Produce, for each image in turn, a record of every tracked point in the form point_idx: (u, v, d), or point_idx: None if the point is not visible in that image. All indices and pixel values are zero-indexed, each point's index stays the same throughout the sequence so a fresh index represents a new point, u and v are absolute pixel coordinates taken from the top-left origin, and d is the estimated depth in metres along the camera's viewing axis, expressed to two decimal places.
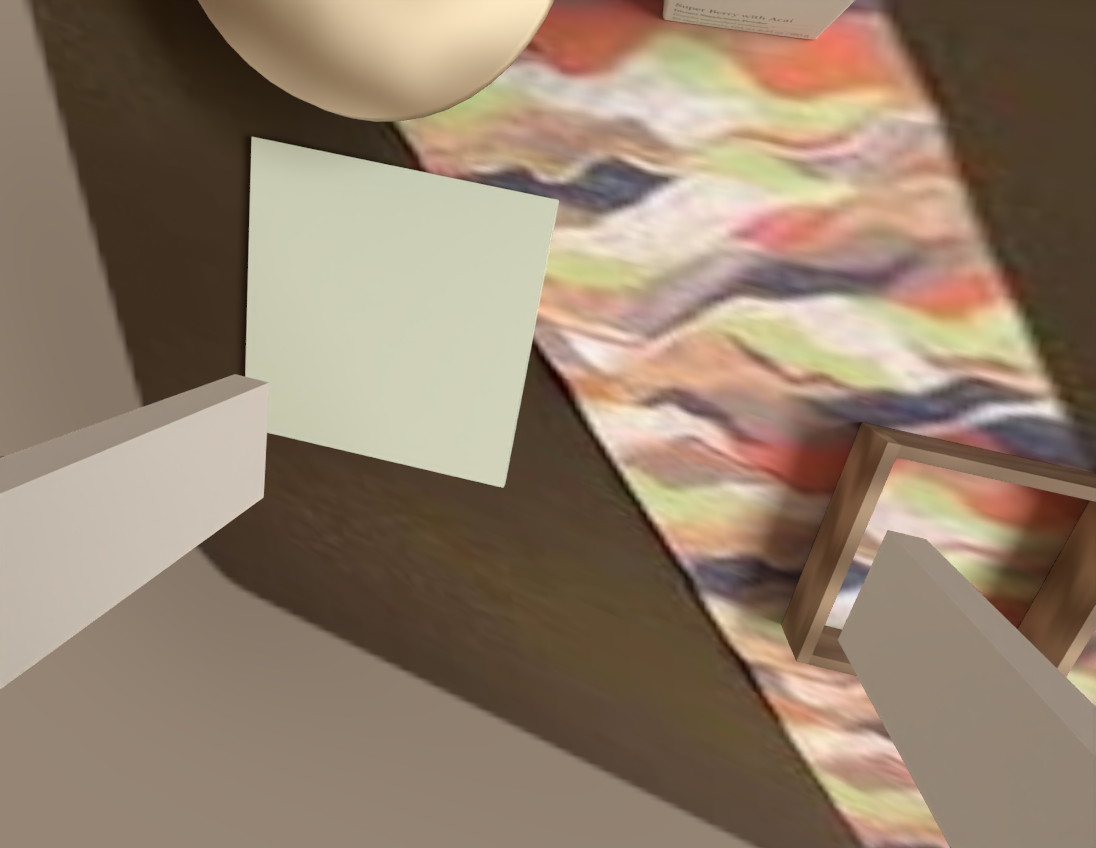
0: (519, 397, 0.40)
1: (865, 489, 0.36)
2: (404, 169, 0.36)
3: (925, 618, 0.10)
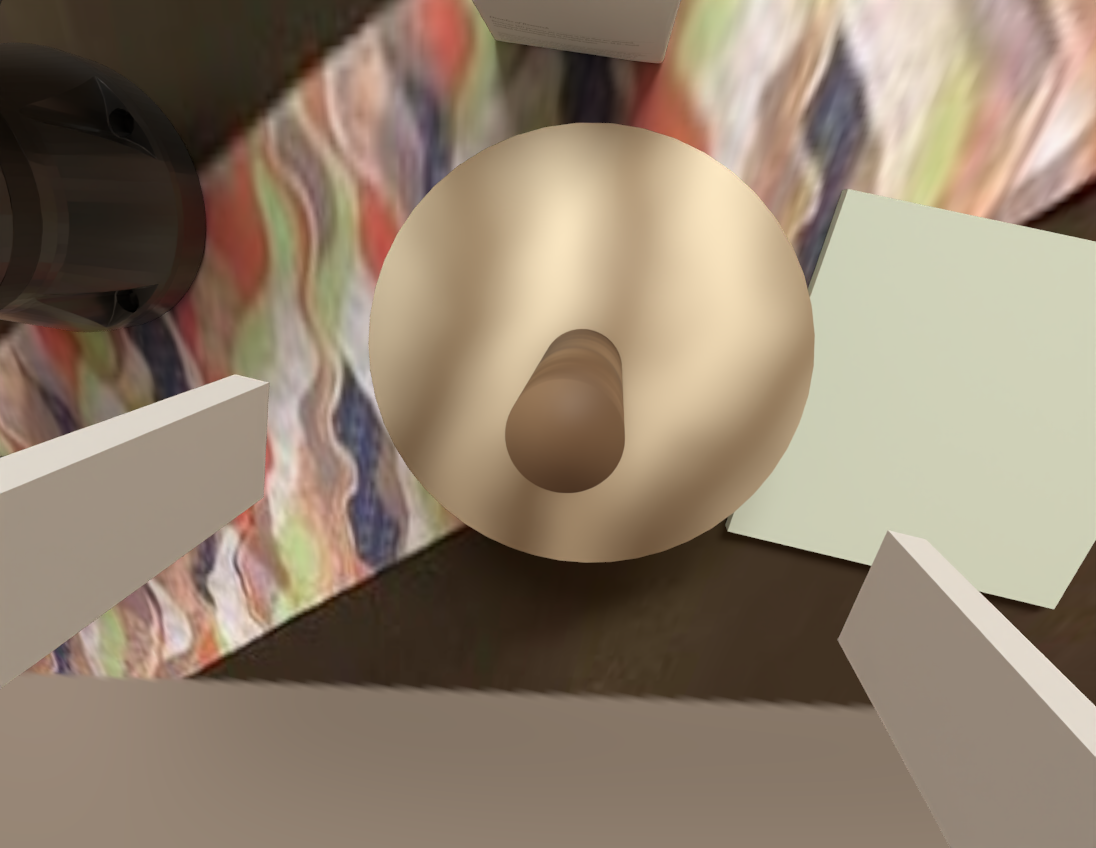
0: None
1: None
2: None
3: (925, 618, 0.10)
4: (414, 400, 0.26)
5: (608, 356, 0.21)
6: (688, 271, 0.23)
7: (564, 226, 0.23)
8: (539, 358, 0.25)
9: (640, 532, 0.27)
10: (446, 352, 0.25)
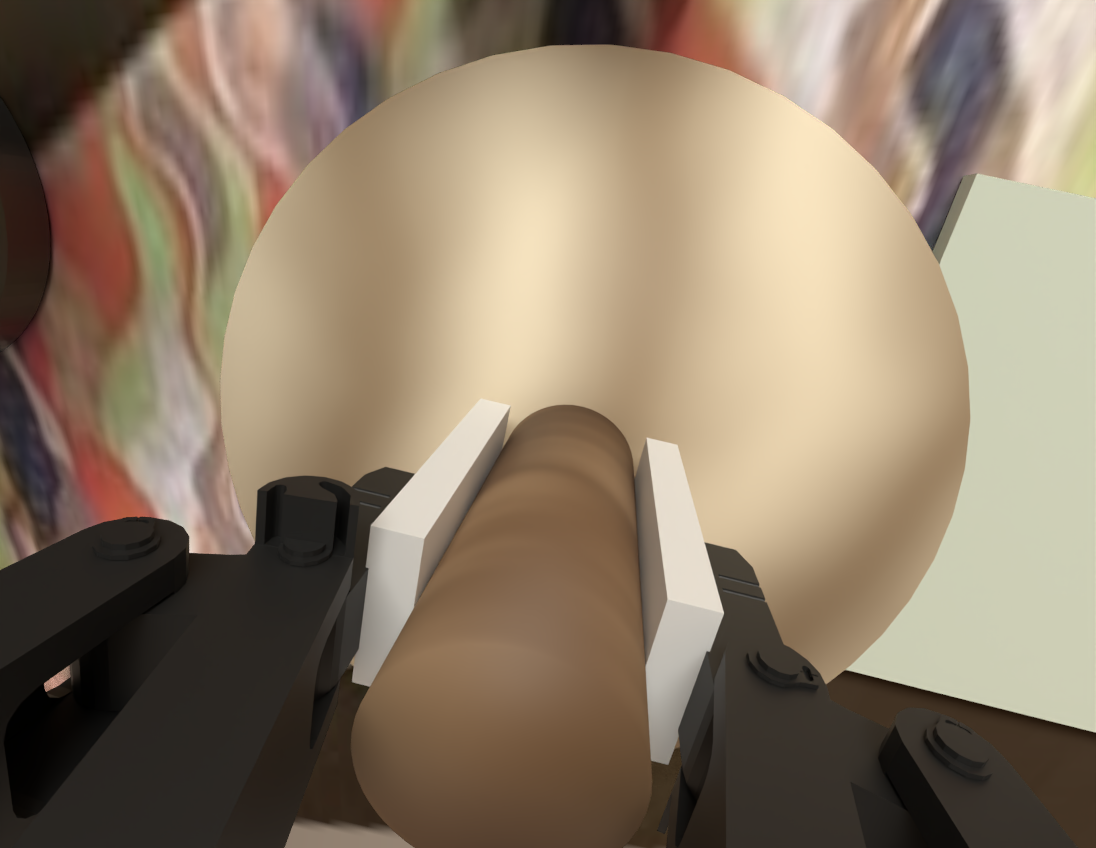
0: None
1: None
2: None
3: (642, 495, 0.12)
4: None
5: (610, 477, 0.11)
6: (749, 309, 0.13)
7: (532, 233, 0.13)
8: None
9: None
10: (345, 440, 0.15)
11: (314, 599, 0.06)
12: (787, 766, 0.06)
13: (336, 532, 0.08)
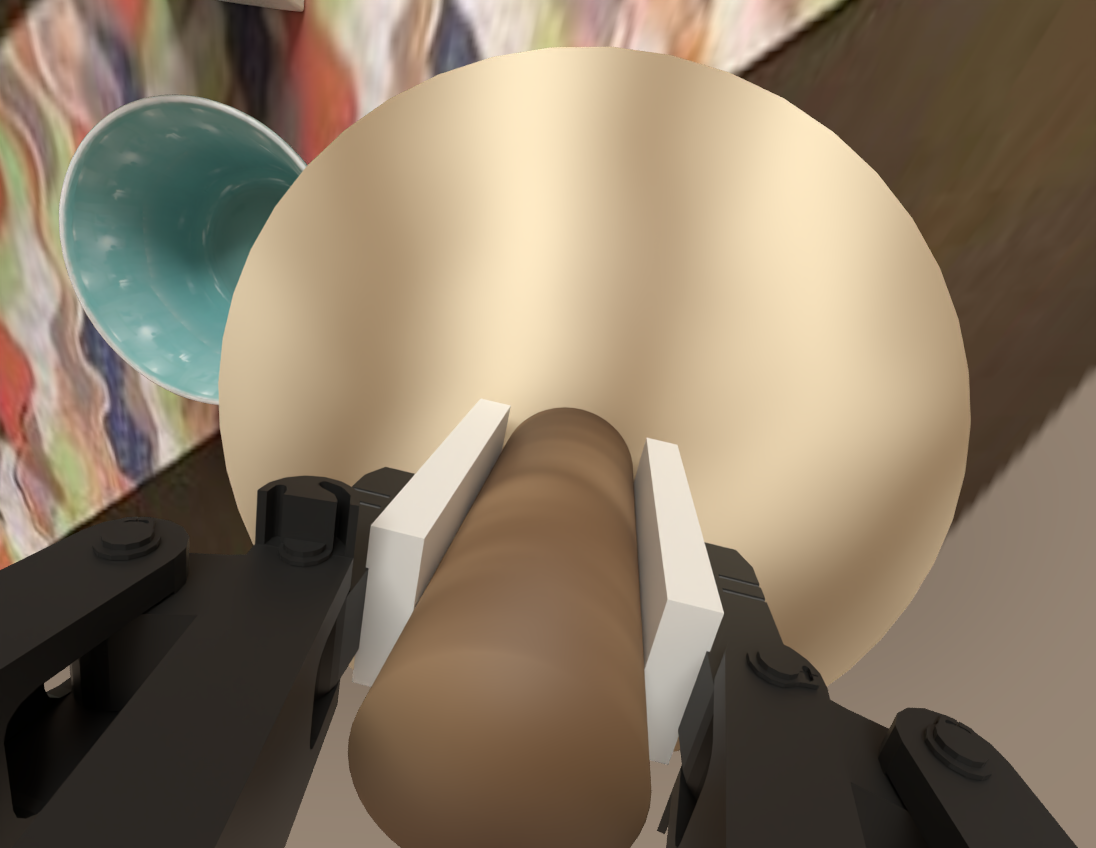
0: None
1: None
2: None
3: (642, 495, 0.12)
4: None
5: (609, 481, 0.11)
6: (749, 312, 0.13)
7: (531, 235, 0.13)
8: None
9: None
10: (344, 442, 0.15)
11: (314, 599, 0.06)
12: (787, 766, 0.06)
13: (336, 532, 0.08)
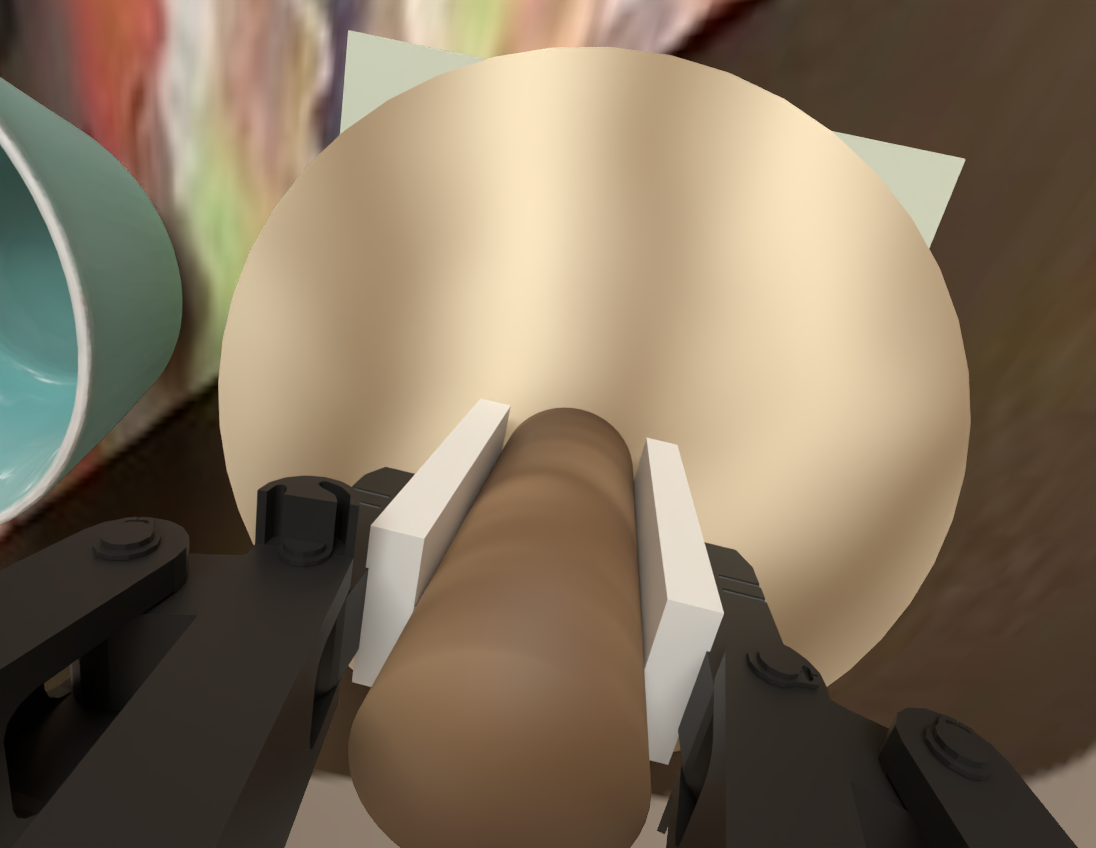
0: None
1: None
2: None
3: (642, 495, 0.12)
4: None
5: (609, 481, 0.11)
6: (749, 312, 0.13)
7: (531, 235, 0.13)
8: None
9: None
10: (344, 442, 0.15)
11: (314, 599, 0.06)
12: (787, 766, 0.06)
13: (336, 532, 0.08)
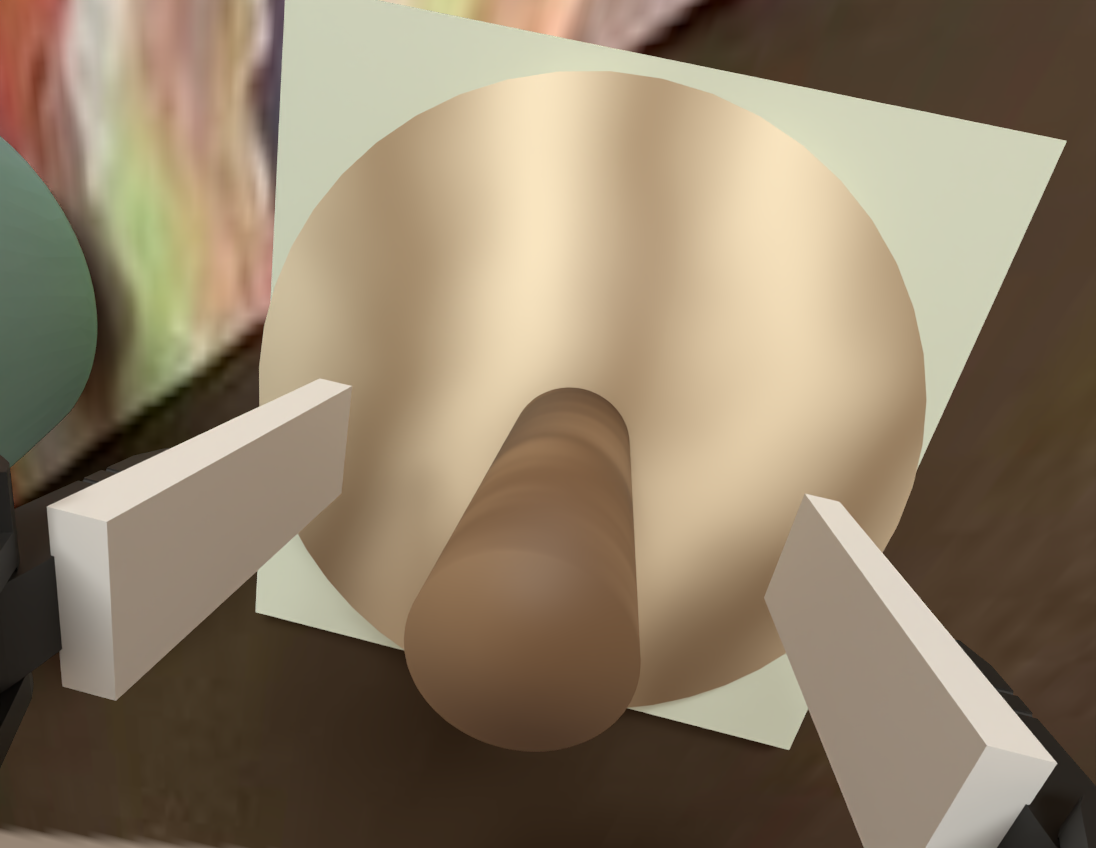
0: (781, 86, 0.14)
1: None
2: None
3: (825, 568, 0.11)
4: None
5: (608, 445, 0.13)
6: (731, 302, 0.15)
7: (540, 234, 0.15)
8: (507, 429, 0.17)
9: (656, 671, 0.19)
10: (371, 419, 0.17)
11: None
12: None
13: None
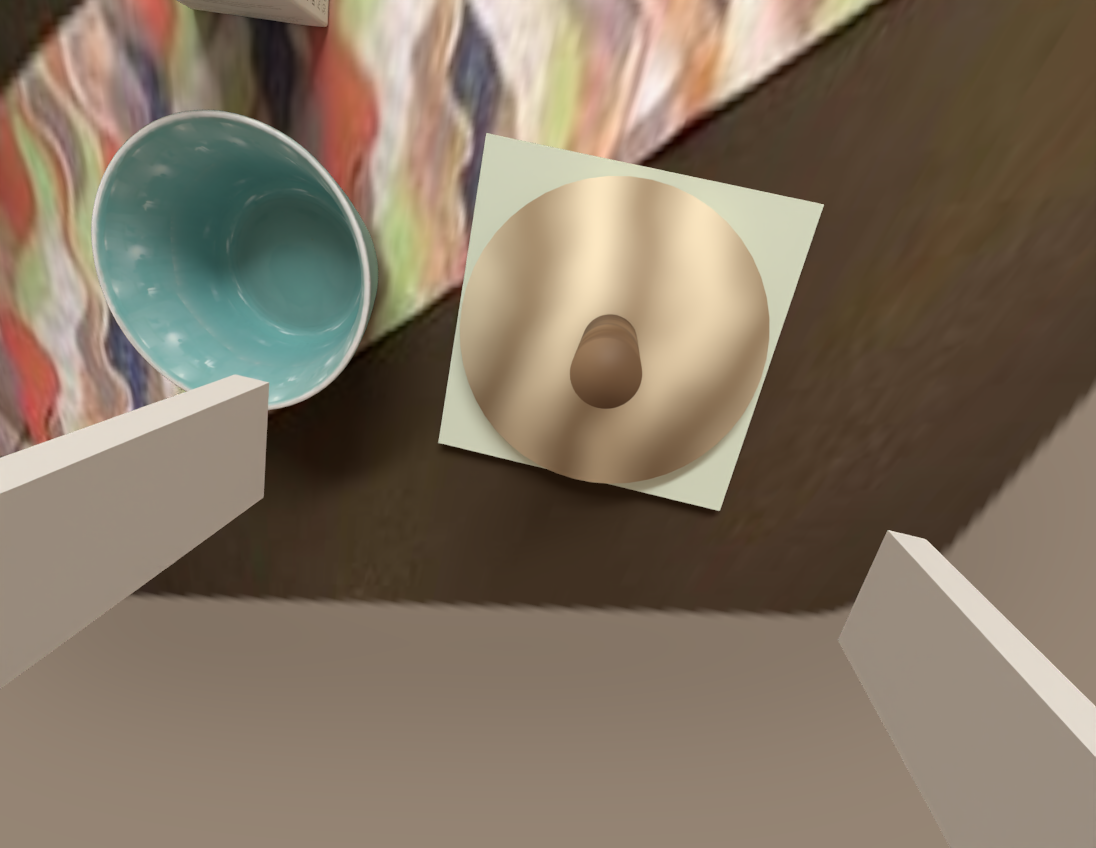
0: (703, 180, 0.34)
1: None
2: (461, 299, 0.37)
3: (924, 618, 0.10)
4: (490, 366, 0.37)
5: (629, 330, 0.32)
6: (682, 274, 0.34)
7: (598, 244, 0.34)
8: (579, 335, 0.36)
9: (650, 460, 0.38)
10: (514, 331, 0.36)
11: None
12: None
13: None
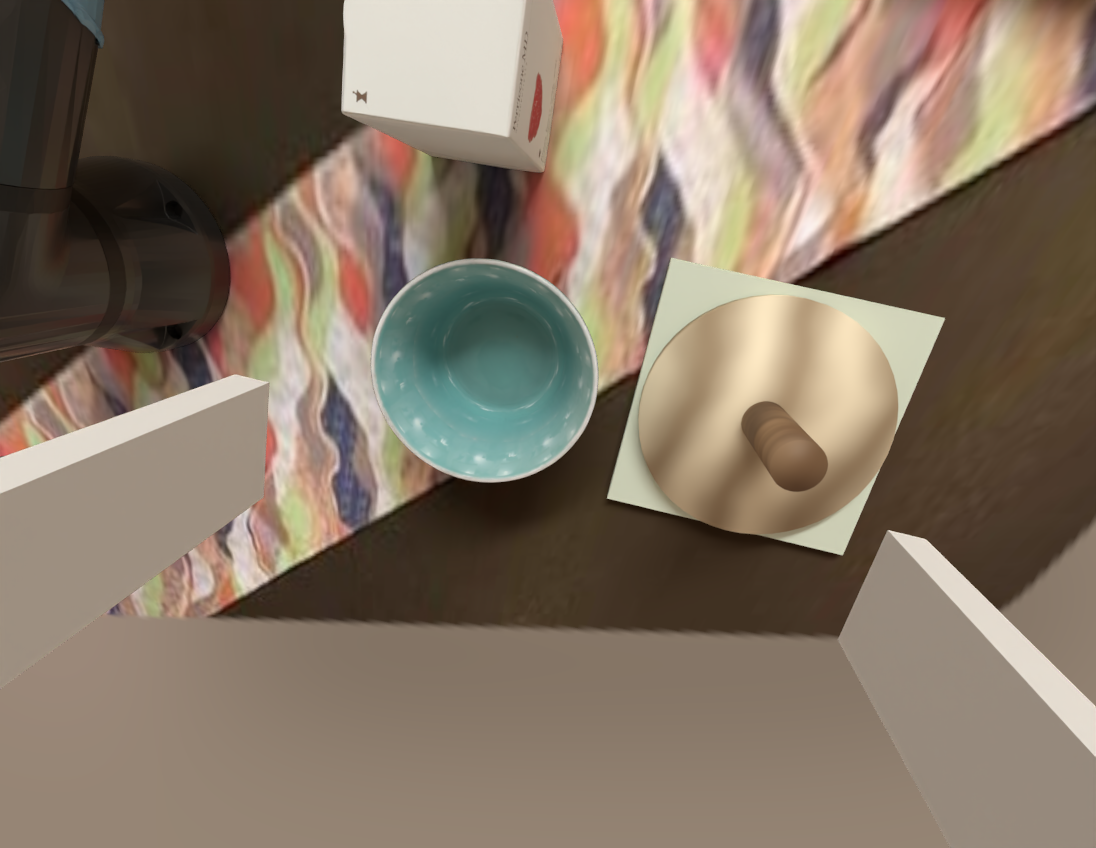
0: (847, 297, 0.42)
1: None
2: (638, 385, 0.46)
3: (925, 618, 0.10)
4: (662, 439, 0.45)
5: (795, 421, 0.40)
6: (829, 372, 0.42)
7: (761, 347, 0.42)
8: (740, 416, 0.44)
9: (790, 516, 0.46)
10: (685, 413, 0.45)
11: None
12: None
13: None
